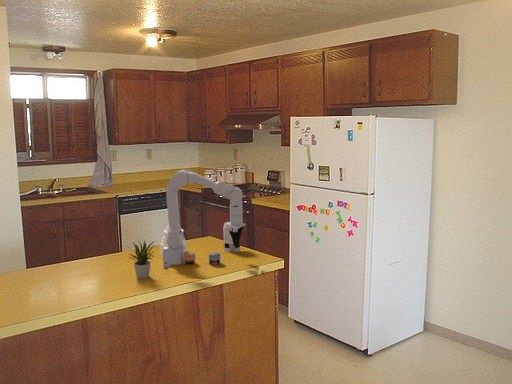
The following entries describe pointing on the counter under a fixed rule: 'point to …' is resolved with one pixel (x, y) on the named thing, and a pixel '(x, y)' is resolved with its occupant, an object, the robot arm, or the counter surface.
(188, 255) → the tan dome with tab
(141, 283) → the counter surface
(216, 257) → the slate-blue dome with prongs
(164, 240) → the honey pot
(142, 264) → the house plant
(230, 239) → the supplement can
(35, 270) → the counter surface
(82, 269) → the counter surface
